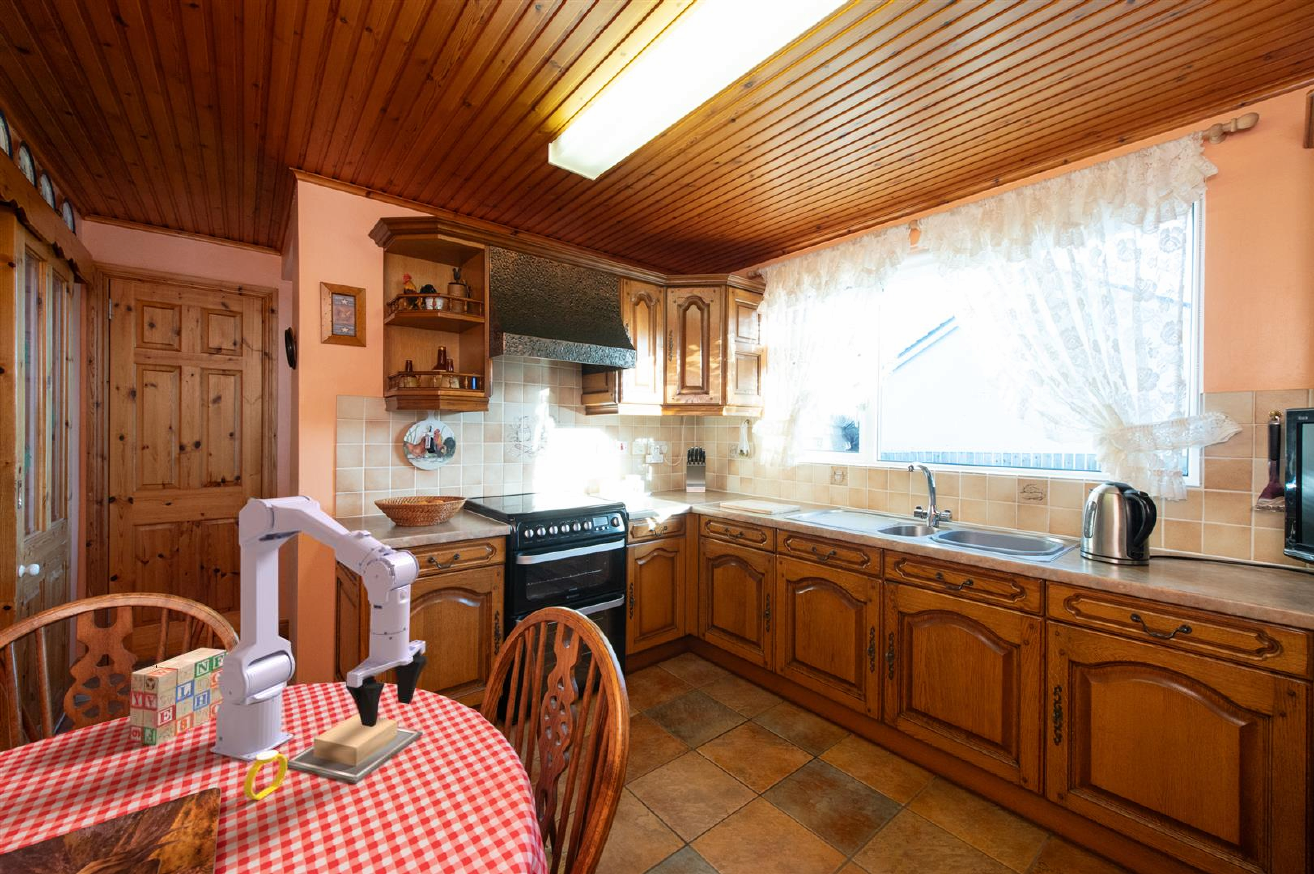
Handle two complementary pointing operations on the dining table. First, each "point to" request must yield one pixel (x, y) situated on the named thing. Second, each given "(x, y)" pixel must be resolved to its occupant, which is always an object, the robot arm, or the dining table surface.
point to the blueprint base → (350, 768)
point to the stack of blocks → (175, 695)
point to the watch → (260, 760)
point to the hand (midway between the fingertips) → (387, 713)
